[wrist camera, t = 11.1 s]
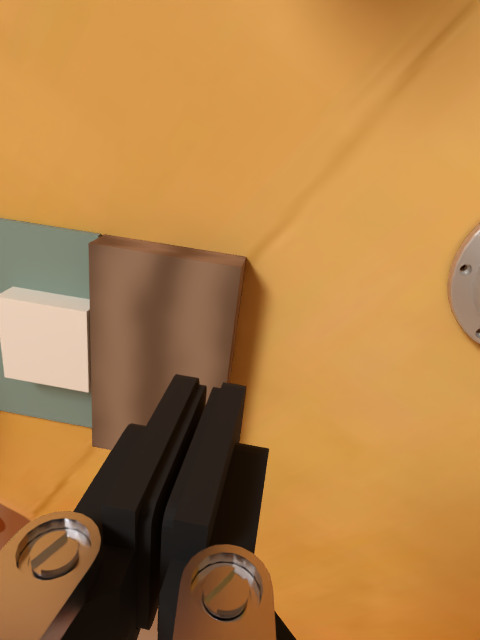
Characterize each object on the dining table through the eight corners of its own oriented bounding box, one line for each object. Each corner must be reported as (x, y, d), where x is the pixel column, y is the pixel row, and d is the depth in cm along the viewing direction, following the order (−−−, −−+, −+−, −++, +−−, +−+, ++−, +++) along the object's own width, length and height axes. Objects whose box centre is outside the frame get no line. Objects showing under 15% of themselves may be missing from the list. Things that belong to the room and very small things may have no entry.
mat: (100, 234, 37) (98, 235, 37) (102, 426, 45) (100, 429, 45) (-43, 211, 38) (-47, 212, 38) (-16, 404, 46) (-19, 406, 46)
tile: (99, 301, 39) (86, 312, 37) (100, 378, 42) (88, 392, 40) (12, 286, 40) (-5, 296, 37) (20, 363, 43) (4, 377, 41)
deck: (246, 256, 36) (241, 267, 34) (220, 448, 45) (215, 469, 42) (104, 234, 37) (88, 243, 34) (105, 427, 45) (92, 446, 43)
